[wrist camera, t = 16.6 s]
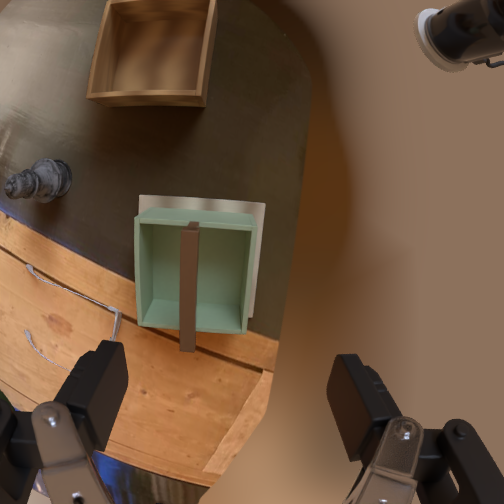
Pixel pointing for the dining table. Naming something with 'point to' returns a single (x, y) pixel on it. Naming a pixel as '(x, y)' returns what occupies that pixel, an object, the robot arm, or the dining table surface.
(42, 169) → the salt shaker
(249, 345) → the dining table surface
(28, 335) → the eyeglasses
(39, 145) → the dining table surface
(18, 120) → the dining table surface
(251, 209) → the placemat
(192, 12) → the brown wooden open box
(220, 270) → the top basket
